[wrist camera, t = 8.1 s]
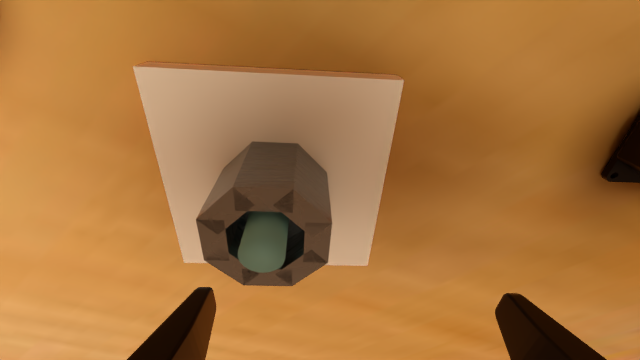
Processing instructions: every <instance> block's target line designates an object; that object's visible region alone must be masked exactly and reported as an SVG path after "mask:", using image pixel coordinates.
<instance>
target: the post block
mask: <svg viewBox="0 0 640 360" xmlns="http://www.w3.org/2000/svg"><path fill="white" fill-rule="evenodd" d="M133 69H134V73H135V77H136V81H137V84H138V88H139V92H140V96H141V100H142V104H143V107H144V111H145V115H146V119H147V123H148V126H149V130H150V134H151V138H152V142H153V146H154V149H155V153H156V157H157V161H158V165H159V169H160V172H161V176H162V180H163V184H164V188H165V191H166V195H167V199H168V203H169V207H170V211H171V214H172V218H173V222H174V226H175V230H176V234H177V237H178V241H179V245H180V249H181V253H182V256H183V260H184V263H208V262H206V261H205V260H204V258H203V253H202V248H201V243H200V238H199V233H198V228H197V224H196V218H197V216H198V214H199V212H200V210H201V209H202V207H203V205H204V203H205V201H206V199H207V198H208V196H209V194H210V192H211V190H212V188H213V186H214V185H215V183H216V181H217V179H218V177H219V175H220V174H221V172H222V170H223V168H224V167H225V166H226V165H227V164H229V163H230V162H231V161H232V160H233V159H234V158H235V157H236V156H237V155H238V154H239V153H240V152H241V151H243V150H244V149H245V148H246V147H247V146H248V145H249V144H250V143H251V142H252V141H254V142H277V143H298V144H299V145H300V146H301V147H302V148H303V149H304V150H305V151H306V152H307V153H308V154H309V155H310V156H311V157H312V158H313V159H314V160H315V161H316V162H317V163H318V164H319V165H320V166H321V167H322V168H323V169H324V170H325V171H326V172H327V177H328V187H329V197H330V207H331V217H332V229H331V239H330V249H329V258H328V263H327V264H325V265H349V266H368V261H369V256H370V251H371V246H372V241H373V235H374V230H375V225H376V220H377V215H378V210H379V205H380V200H381V195H382V190H383V185H384V180H385V175H386V170H387V164H388V159H389V154H390V149H391V144H392V139H393V134H394V129H395V124H396V119H397V114H398V109H399V104H400V99H401V93H402V88H403V83H404V80H403V79H402V78H400V77H399V76H398V75H392V74H373V73H354V72H335V71H316V70H297V69H278V68H259V67H240V66H221V65H202V64H183V63H164V62H145V63H142V64H138V65H135V66H133ZM288 226H289V218H288V217H287V216H285V215H284V214H283V213H282V212H257V211H250V212H249V216H248V219H247V222H246V226H245V229H244V233H243V236H242V239H241V243H240V246H239V249H238V259H239V261H240V263H241V264H242V265H243V266H244V267H246V268H247V269H249V270H252V271H255V272H261V273H266V272H272V271H274V270H277V269H278V268H280V267H281V266H282V265H283V263H284V261H285V256H286V246H287V236H288Z"/></svg>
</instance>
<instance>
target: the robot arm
mask: <svg viewBox="0 0 640 360" xmlns="http://www.w3.org/2000/svg"><path fill="white" fill-rule="evenodd" d="M602 178H603V179H605V180H607V181H610V182H634V183H640V114H639V116H638V118H637V119H636V121H635V122H634V124H633V125H632V127H631V129H630V130H629V132H628V133H627V135H626V136H625V138H624V140H623V141H622V143H621V144H620V146H619V147H618V149H617V151H616V152H615V154H614V155H613V157H612V158H611V160H610V162H609V163H608V165H607V166H606V168H605V169H604V171H603V172H602ZM215 313H216V302H215V297H214V293H213V290H212V288H210V287H199V288H197V289H196V290H194V292H193V293H192V294H191V295H190V296H189V297H188V298H187V299H186V300H185V301H184V302H183V303H182V304H181V305H180V306H179V307H178V308H177V309H176V310H175V311H174V312H173V313H172V314H171V315H170V316H169V317H168V318H167V319H166V320H165V321H164V322H163V323H162V324H161V325H160V326H159V327H158V328H157V329H156V330H155V331H154V332H153V333H152V334H151V335H150V336H149V337H148V339H147V340H146V341H145V342H144V343H143V344H142V345H141V346H140V347H139V348H138V349H137V350H136V351H135V352H134V353H133V354H132V355H131V356H130V357H129V358H128V359H127V360H205V358H206V353H207V349H208V344H209V340H210V335H211V331H212V326H213V322H214V317H215ZM495 315H496V319H497V322H498V325H499V328H500V330H501V333H502V336H503V339H504V342H505V345H506V347H507V350H508V353H509V356H510V359H511V360H606V359H605V358H604V357H602V356H601V355H600V354H599V353H597V352H596V351H595V350H593V349H592V348H591V347H589V346H588V345H587V344H585V343H584V342H583V341H581V340H580V339H579V338H578V337H576V336H575V335H574V334H572V333H571V332H570V331H568V330H567V329H566V328H564V327H563V326H562V325H560V324H559V323H558V322H556V321H555V320H554V319H553V318H551V317H550V316H549V315H547V314H546V313H545V312H543V311H542V310H541V309H539V308H538V307H537V306H535V305H534V304H533V303H531V302H530V301H529V300H528V299H526V298H525V297H524V296H522V295H520V294H517V293H506V294H504V295H503V297H502V298H501V300H500V302H499V304H498V306H497V307H496V310H495Z"/></svg>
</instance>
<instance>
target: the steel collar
mask: <svg viewBox="0 0 640 360" xmlns="http://www.w3.org/2000/svg"><path fill="white" fill-rule="evenodd" d="M250 211H257V212H282V213H283V214H284V215H285V216H287V217H288V218H289V226H288V236H287V246H286V256H285V261H284V263H283V265H282V266H281V267H280V268H278V269H277V270H274V271H272V272H266V273H261V272H255V271H252V270H249V269H247V268H246V267H244V266H243V265H242V264H241V263H240V261H239V259H238V249H239V246H240V243H241V239H242V236H243V233H244V229H245V226H246V222H247V219H248V216H249V212H250ZM196 224H197V228H198V233H199V238H200V243H201V248H202V253H203V258H204V260H205V261H206V262H208V263H209V264H211V265H212V266H214V267H216V268H217V269H219V270H220V271H222V272H224V273H225V274H227V275H228V276H230V277H231V278H233V279H235V280H236V281H238V282H239V283H241V284H243V285H262V286H293V285H294V284H296V283H297V282H299V281H300V280H302V279H304V278H305V277H307V276H308V275H310V274H311V273H313V272H314V271H316V270H317V269H319V268H321V267H322V266H324V265H325V264H327V263H328V258H329V249H330V239H331V229H332V217H331V207H330V197H329V187H328V177H327V172H326V171H325V170H324V169H323V168H322V167H321V166H320V165H319V164H318V163H317V162H316V161H315V160H314V159H313V158H312V157H311V156H310V155H309V154H308V153H307V152H306V151H305V150H304V149H303V148H302V147H301V146H300V145H299V144H298V143H277V142H254V141H252V142H251V143H250V144H249V145H248V146H247V147H246V148H245V149H244V150H243V151H241V152H240V153H239V154H238V155H237V156H236V157H235V158H234V159H233V160H232V161H231V162H230V163H229V164H227V165H226V166H225V167H224V168H223V170H222V172H221V174H220V175H219V177H218V179H217V181H216V183H215V185H214V186H213V188H212V190H211V192H210V194H209V196H208V198H207V199H206V201H205V203H204V205H203V207H202V209H201V210H200V212H199V214H198V216H197V218H196Z"/></svg>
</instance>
